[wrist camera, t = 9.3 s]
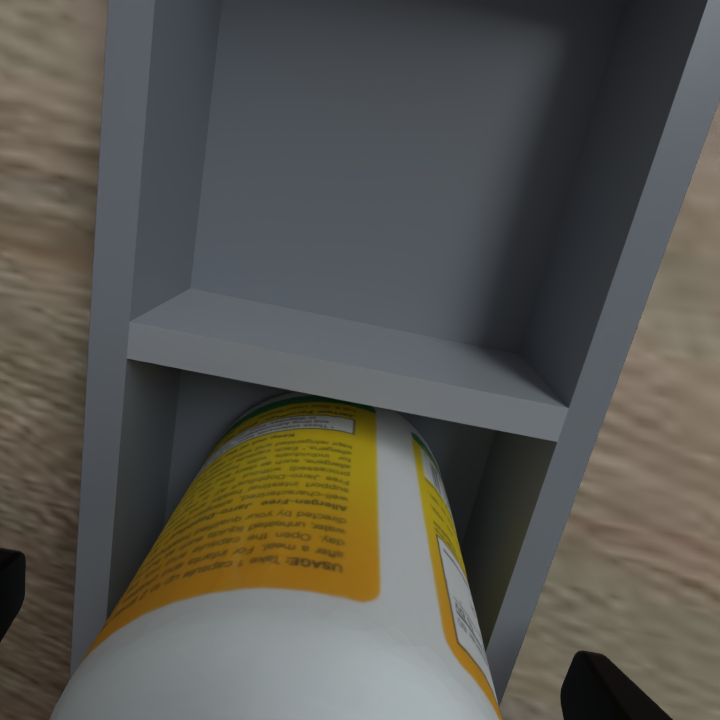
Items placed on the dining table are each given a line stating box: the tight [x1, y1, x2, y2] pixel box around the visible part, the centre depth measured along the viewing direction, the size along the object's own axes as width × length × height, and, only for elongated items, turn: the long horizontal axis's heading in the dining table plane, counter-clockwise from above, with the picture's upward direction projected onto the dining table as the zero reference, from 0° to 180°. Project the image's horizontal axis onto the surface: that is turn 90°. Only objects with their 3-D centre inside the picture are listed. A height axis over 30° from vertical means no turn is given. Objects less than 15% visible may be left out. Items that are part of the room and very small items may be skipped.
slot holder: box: [70, 0, 720, 706], centre depth 12 cm, size 8×23×4 cm, turn 168°
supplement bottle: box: [49, 392, 502, 720], centre depth 8 cm, size 5×5×10 cm
